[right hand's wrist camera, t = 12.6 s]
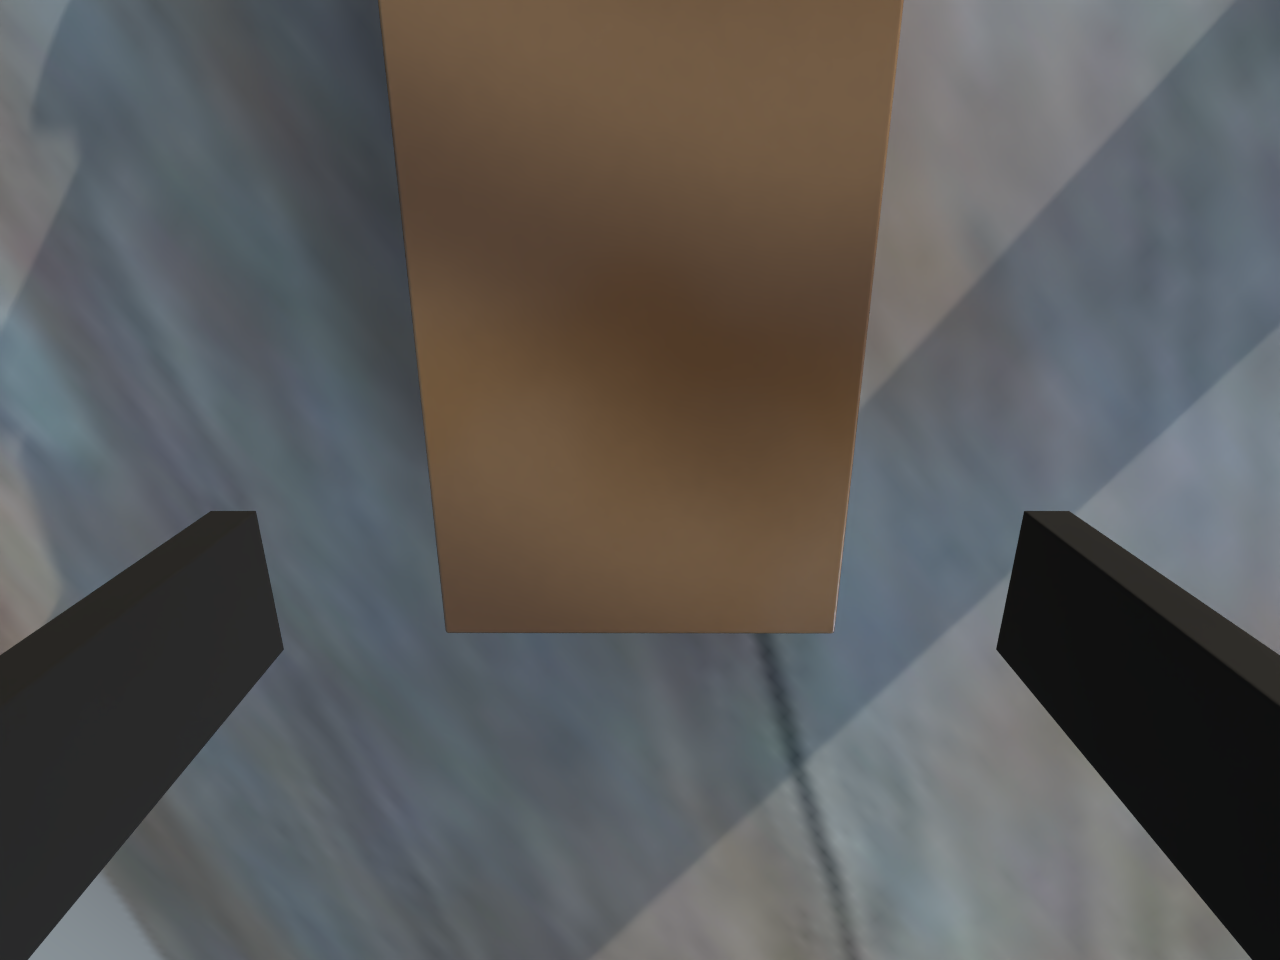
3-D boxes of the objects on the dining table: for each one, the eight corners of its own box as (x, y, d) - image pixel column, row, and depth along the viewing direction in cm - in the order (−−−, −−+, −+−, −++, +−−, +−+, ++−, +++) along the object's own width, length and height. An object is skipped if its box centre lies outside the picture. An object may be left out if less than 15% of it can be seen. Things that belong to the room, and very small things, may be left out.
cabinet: (462, -106, 20) (341, -328, 12) (819, -106, 20) (940, -328, 12) (505, 506, 26) (444, 634, 18) (775, 506, 26) (834, 634, 18)
